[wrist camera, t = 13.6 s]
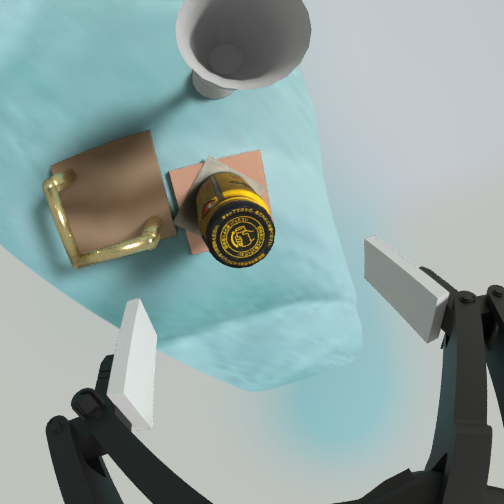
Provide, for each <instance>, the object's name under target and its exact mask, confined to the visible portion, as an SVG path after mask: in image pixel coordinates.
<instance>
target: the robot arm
mask: <svg viewBox="0 0 504 504" xmlns="http://www.w3.org/2000/svg"><path fill="white" fill-rule="evenodd" d="M364 245H365V275H364V276H365V277H364V278H365V279H366V280H367V281H368V282H369V283H370V284H371V285H372V286H373V287H374V288H375V289H376V290H377V291H378V292H379V293H380V294H381V295H382V296H383V297H384V298H385V299H386V300H387V301H388V302H389V303H390V304H391V305H392V307H394V309H395V310H396V311H397V312H398V313H399V314H400V315H401V316H402V317H403V318H404V319H405V320H406V321H407V322H408V323H409V324H410V325H411V326H412V328H413V329H414V330H415V331H416V332H417V333H418V334H419V335H420V336H421V337H422V338H423V340H424V341H425V342H426V343H429V342H431V341H433V340H435V339H437V338H438V337H439V333H440V329H442V330H443V331H444V332H445V335H444V339H443V342H442V345H441V349H442V348H443V346H444V348H443V368H442V381H441V392H440V400H439V408H438V416H437V422H436V429H435V434H434V440H433V445H432V450H431V454H430V457H429V460H428V462H427V464H426V467H425V470H424V471H417V472H411V471H410V469H409V468H408V469H407V470H405V471H403V472H401V473H399V474H397V475H395V476H393V477H391V478H389V479H387V480H385V481H384V482H382V483H381V484H380V485H378V486H377V487H376V488H375V489H373V490H372V491H371V492H369V493H368V494H366V495H365V496H364V497H362V498H361V499H358V500H353V501H348V502H341V503H334V504H504V489H502V488H497V487H493V486H488V485H487V480H488V473H489V466H490V456H491V446H492V445H491V444H492V427H491V426H488V425H487V373H486V363H487V366H488V369H489V373H490V375H491V379H492V382H493V386H494V389H495V393H496V397H497V400H498V404H499V408H500V412H501V416H502V421H503V426H504V288H503V287H502V286H499V285H492V286H490V287H489V288H488V290H487V294H486V295H482V296H476V295H475V294H473V293H471V292H469V291H460V292H458V291H457V290H456V289H454V288H453V287H452V286H451V285H449V284H448V283H447V282H445V281H444V280H443V279H441V278H440V277H439V276H437V275H436V274H435V273H434V272H433V271H431V270H430V269H427V268H425V267H419V268H418V267H417V266H416V265H414V264H413V263H411V262H410V261H409V260H408V259H406V258H405V257H404V256H402V255H401V254H400V253H398V252H397V251H396V250H394V249H393V248H392V247H390V246H389V245H387V244H386V243H385V242H383V241H382V240H381V239H379V238H378V237H376V236H372V237H368V238H365V239H364ZM156 343H157V334H156V332H155V330H154V328H153V326H152V324H151V322H150V320H149V317H148V315H147V313H146V311H145V309H144V307H143V304H142V302H141V300H140V298H138V299H134V300H130V301H127V304H126V308H125V312H124V316H123V320H122V324H121V328H120V332H119V337H118V341H117V345H116V350H115V354H113V355H107V356H106V357H105V358H104V360H103V361H102V363H101V365H100V369H99V374H98V380H97V382H96V387H95V390H93V389H91V388H85V389H82V390H80V391H79V392H77V393H76V394H75V395H74V397H73V399H72V401H71V406H72V409H73V410H74V411H75V412H76V413H77V414H78V416H79V417H77V418H75V419H72V420H69V421H68V420H67V419H66V418H65V417H64V416H60V415H59V416H55V417H53V418H52V419H50V421H49V422H48V423H47V426H46V436H47V441H48V446H49V450H50V454H51V458H52V463H53V466H54V470H55V474H56V477H57V481H58V484H59V487H60V491H61V494H62V497H63V500H64V502H65V504H124V503H123V501H122V500H121V498H120V495H119V493H118V491H117V489H116V487H115V485H114V483H113V481H112V479H111V477H110V475H109V472H108V470H107V468H106V466H105V463H104V461H103V459H102V455H105V454H109V456H110V457H111V458H112V459H113V460H114V462H115V463H116V464H117V465H118V466H119V468H120V469H121V470H122V471H123V472H124V473H125V475H126V476H127V477H128V478H129V479H130V480H131V481H132V482H133V483H134V485H135V486H136V487H137V488H138V489H139V490H140V491H141V492H142V493H143V494H144V495H145V496H146V497H147V498H148V499H149V500H150V501H151V502H152V503H153V504H213V503H211V502H210V501H209V500H207V499H206V498H205V497H203V496H202V495H201V494H199V493H198V492H197V491H196V490H194V489H193V488H192V487H191V486H189V485H188V484H187V483H185V482H184V481H183V480H182V479H181V478H180V477H178V476H177V475H176V474H175V473H174V472H173V471H171V470H170V469H169V468H168V467H167V466H166V465H165V464H163V462H161V461H160V460H159V459H158V458H157V457H156V456H155V455H154V454H153V453H152V452H151V451H150V450H149V449H148V448H147V447H146V446H145V445H143V443H142V442H141V441H140V440H138V438H137V437H136V436H135V435H134V434H133V433H132V432H131V427H132V426H133V427H134V428H135V429H136V430H137V431H142V430H151V429H153V396H154V374H155V373H154V372H155V355H156Z"/></svg>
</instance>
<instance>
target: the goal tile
mask: <svg viewBox="0 0 504 504" xmlns="http://www.w3.org/2000/svg"><path fill="white" fill-rule="evenodd" d="M216 160H218V161H220V162H222V163H224V164H225V165H227V166H229V167H231V168H233V169H235V170H236V171H238V172H240V173H242V174H244V175H246V176H247V177H249V178H251V179H253V180H254V181H256V182H258V183H260V184H261V185H263V186H265V187H266V189H265V190H264V192H263V193H262V195H261V198H262V199H263V201H264V202H265V203H266V205H267V207H268V209H269V212H270V216H271V219H272V221H273V218H272V212H271V207H270V201H269V195H268V190H267V184H266V179H265V173H264V168H263V162H262V157H261V151H260V150H255V151H250V152H245V153H240V154H236V155H231V156H227V157H222V158H218V159H216ZM204 163H205V162H202V163H198V164H194V165H190V166H186V167H182V168H178V169H175V170H171V171H169V173H170V177H171V181H172V184H173V188H174V192H175V196H176V199H177V203H178V207H179V209H180V207H181V206H182V204H183V202H184V200H185V198H186V196H187V194H188V192H189V190H190V189H191V187H192V185H193V183H194V181H195V179H196V178H197V176H198V174H199V172H200V170H201V169H202V167H203V165H204ZM185 231H186V235H187V238H188V242H189V245H190V248H191V252H192V255H193V254H197V253H201V252H205V251H209V249H208V248H207V245H206V244H205V242H204V241H203V239H202V237H200V236H198V235H196V234H194V233H191V232H189V231H187V230H185Z"/></svg>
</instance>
